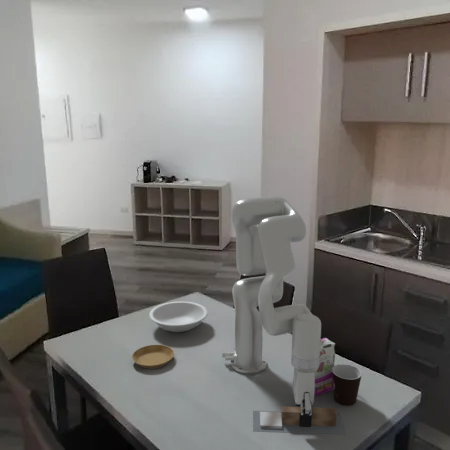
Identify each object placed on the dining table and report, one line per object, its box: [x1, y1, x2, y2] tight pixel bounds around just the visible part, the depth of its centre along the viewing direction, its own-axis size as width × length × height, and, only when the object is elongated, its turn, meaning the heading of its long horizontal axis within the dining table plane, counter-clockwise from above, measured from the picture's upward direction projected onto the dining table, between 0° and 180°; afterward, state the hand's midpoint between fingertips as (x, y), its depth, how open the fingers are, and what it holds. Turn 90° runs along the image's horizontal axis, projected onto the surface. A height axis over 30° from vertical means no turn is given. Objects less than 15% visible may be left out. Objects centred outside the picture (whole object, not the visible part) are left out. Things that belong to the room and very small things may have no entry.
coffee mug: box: [332, 363, 363, 407], centre depth 138 cm, size 12×9×10 cm
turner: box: [260, 405, 338, 429], centre depth 127 cm, size 21×6×4 cm, turn 87°
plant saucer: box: [131, 344, 175, 370], centre depth 161 cm, size 15×15×3 cm
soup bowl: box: [148, 300, 209, 333], centre depth 186 cm, size 24×24×7 cm
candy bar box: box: [314, 337, 336, 397], centre depth 140 cm, size 11×5×16 cm, turn 117°
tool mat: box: [252, 410, 347, 436], centre depth 127 cm, size 25×9×1 cm, turn 87°
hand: (303, 415), depth 126 cm, fingers open, 8 cm apart
